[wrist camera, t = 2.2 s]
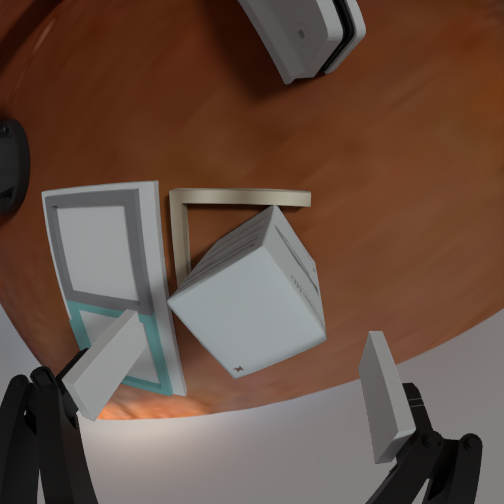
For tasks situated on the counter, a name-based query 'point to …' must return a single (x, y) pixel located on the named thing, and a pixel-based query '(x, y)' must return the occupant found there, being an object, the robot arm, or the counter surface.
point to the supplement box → (253, 296)
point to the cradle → (218, 195)
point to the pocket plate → (116, 272)
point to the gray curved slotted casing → (306, 33)
